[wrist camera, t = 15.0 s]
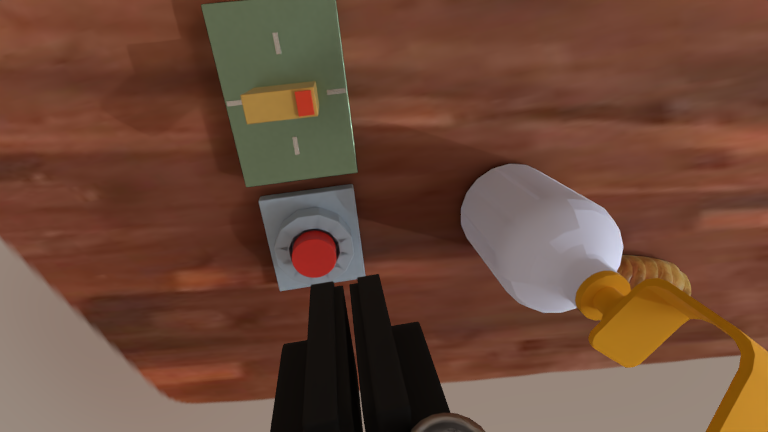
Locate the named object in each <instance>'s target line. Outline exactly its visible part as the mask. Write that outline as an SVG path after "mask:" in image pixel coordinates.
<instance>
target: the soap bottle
mask: <svg viewBox="0 0 768 432" xmlns="http://www.w3.org/2000/svg"><path fill="white" fill-rule="evenodd" d="M461 226H462V228H463V230H464V233H465V235H466V238H467V239H468V240H469V242H470V243H471V244H472V246H473V247H474V248H475V250H476V251H477V252H478V254H479V255H480V257H481V258H482V259H483V261H484V262H485V263H486V265H487V266H488V267H489V269H490V270H491V271H492V273H493V274H494V275H495V277H496V278H497V279H498V281H499V282H500V283H501V285H502V286H503V287H504V289H505V290H506V291H507V292H508V293H509V294H510V295H511V296H512V297H513V298H514V299H515V300H516V301H517V302H518V303H520V304H522V305H524V306H527V307H529V308H532V309H535V310H537V311H540V312H543V313H562V312H565V311H568V310H572V309H575V308H578V310H579V311H580V312H581V313H583V314H584V315H585V316H586V317H587V318H589V319H592V320H601V322H600V323H599V324H598V325H597V326H596V327H595V328H594V329H593V330H592V331H591V332H590V335H589V337H588V339H589V343H590V344H591V346H592V347H593V348H594V349H596V350H598V351H599V352H601V353H603V354H604V355H606V356H608V357H609V358H611V359H613V360H614V361H616V362H617V363H619V364H621V365H622V366H624V367H626V368H628V367H635V366H637V365H639V364H641V363H642V362H643V361H644V360H645V359H646V358H647V357H648V356H649V355H650V354H651V353H652V352H653V351H654V350H656V349H657V348H658V347H659V346H660V345H661V344H662V343H663V342H664V341H665V340H666V339H667V338H668V337H669V336H670V335H671V334H673V333H674V332H675V331H676V330H677V329H678V328H679V327H680V326H681V325H682V324H684V323H685V322H686V321H688V320H689V319H702V320H704V321H707V322H709V323H712V324H714V325H715V326H717V327H718V328H719V329H721V330H722V331H724V332H725V333H726V334H728V335H729V336H731V337H732V338H733V339H734V341H735V342H736V344H737V346H738V348H739V350H740V352H741V358H740V365H739V369H738V371H737V373H736V375H735V377H734V378H733V380H732V382H731V384H730V386H729V388H728V390H727V392H726V394H725V396H724V398H723V400H722V401H721V404H720V405H719V407H718V409H717V411H716V413H715V415H714V417H713V419H712V421H711V423H710V424H709V426H708V428H707V430H706V432H768V351H766V350H765V349H764V348H763V347H761V346H760V345H759V344H757V343H756V342H755V341H754V340H752V339H751V338H750V337H748V336H747V335H746V334H745V333H743V332H742V331H741V330H739V329H738V328H736V327H735V326H733V325H732V324H730V323H729V322H728V321H726V320H725V319H723V318H722V317H720V316H719V315H717V314H716V313H714V312H713V311H711V310H710V309H708V308H707V307H705V306H704V305H702V304H701V303H700V302H698V301H697V300H695V299H694V298H692V297H691V296H689V295H688V294H686V293H685V292H683V291H682V290H680V289H679V288H677V287H676V286H674V285H673V284H672V283H670V282H669V281H666V280H663V279H660V278H652V279H646V280H644V281H642V282H641V283H639V284H638V285H636V286H635V287H634V288H633V289H632V290H631V288H630V284H629V283H628V281H627V280H626V279H625V278H624V277H623V276H622V275H620V274H619V273H618V272H617V270H618V268H619V266H620V263H621V258H622V252H623V243H622V238H621V234H620V230H619V228H618V226H617V225H616V223H615V221H614V220H613V219H612V218H611V216H610V215H609V214H608V212H607V211H606V210H605V209H604V208H603V207H601V206H599V205H598V204H596V203H594V202H592V201H591V200H589V199H587V198H585V197H584V196H582V195H580V194H578V193H577V192H575V191H573V190H571V189H570V188H568V187H566V186H564V185H563V184H561V183H559V182H557V181H556V180H554V179H552V178H551V177H549V176H547V175H545V174H544V173H542V172H540V171H538V170H536V169H534V168H532V167H530V166H528V165H523V164H507V165H503V166H500V167H496V168H493V169H491V170H489V171H488V172H487V173H485V174H484V175H482V176H481V177H479V178H478V179H477V180H476V181H475V182H474V184H473V185H472V186H471V187H470V189H469V190H468V191H467V193H466V196H465V198H464V201H463V204H462V207H461Z"/></svg>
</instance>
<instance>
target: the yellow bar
mask: <svg viewBox="0 0 768 432" xmlns="http://www.w3.org/2000/svg"><path fill="white" fill-rule="evenodd" d="M240 97H241V101H242V105H243V110H244V114H245V118H246V123H247V124H255V123H264V122H272V121H281V120H289V119H298V118H306V117H315V116H318V112H319V100H318V94H317V87H316V82H315V81H312V82H302V83H293V84H284V85H275V86H266V87H257V88H253V89H251V90H249V91H247V92H245V93H244V94H242V95H240Z"/></svg>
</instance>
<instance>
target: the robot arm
mask: <svg viewBox="0 0 768 432" xmlns="http://www.w3.org/2000/svg"><path fill="white" fill-rule="evenodd" d="M357 279H358V283H356V284H350V295H351V305H352V314H353V324H354V334H355V344H356V354H357V363H358V373H359V383H360V393H361V402H362V411H363V418H364V424H365V431H366V432H485V431H484V430H483V428H482V427H481V426H480V425H478V424H477V423H476V422H474V421H473V420H471V419H470V418H467V417H464V416H462V415H459V414H454V413H450V410H449V408H448V405H447V402H446V399H445V396H444V393H443V390H442V387H441V384H440V381H439V378H438V375H437V373H436V370H435V367H434V364H433V361H432V358H431V355H430V352H429V349H428V346H427V343H426V341H425V338H424V335H423V332H422V329H421V326H420V324H419V322H413V323H407V324H401V325H395V326H391V323H390V319H389V315H388V311H387V307H386V302H385V298H384V294H383V290H382V286H381V281H380V277H379V274H376V275H369V276H363V277H357ZM270 432H363V428H362V417H361V407H360V397H359V387H358V378H357V370H356V364H355V358H354V352H353V345H352V339H351V333H350V327H349V321H348V315H347V308H346V302H345V296H344V290H343V286H337V287H335V286H334V282H333V281H331V282H324V283H318V284H312V285H311V290H310V306H309V322H308V339H307V340H305V341H299V342H293V343H287V344H284V345H283V348H282V354H281V361H280V368H279V374H278V381H277V388H276V395H275V402H274V410H273V416H272V423H271V430H270Z"/></svg>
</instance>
